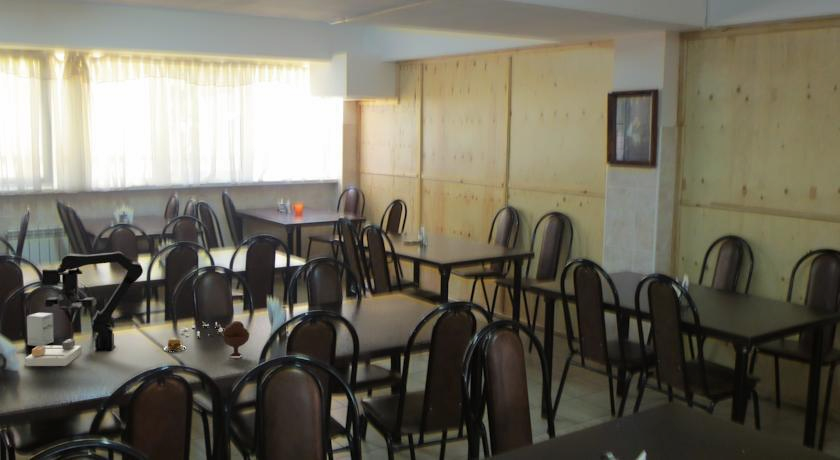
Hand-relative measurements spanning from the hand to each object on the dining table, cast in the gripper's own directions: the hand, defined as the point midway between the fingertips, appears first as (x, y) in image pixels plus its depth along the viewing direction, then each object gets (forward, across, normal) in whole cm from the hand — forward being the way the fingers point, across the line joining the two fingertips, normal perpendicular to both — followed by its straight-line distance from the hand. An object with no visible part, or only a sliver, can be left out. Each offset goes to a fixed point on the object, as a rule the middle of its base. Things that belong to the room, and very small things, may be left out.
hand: (71, 322), depth 320 cm
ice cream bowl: (+12, +67, -7) cm, 68 cm away
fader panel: (+12, -3, -11) cm, 17 cm away
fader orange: (+9, -7, -16) cm, 19 cm away
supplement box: (+12, -17, +12) cm, 24 cm away
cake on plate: (+13, +40, +4) cm, 42 cm away
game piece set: (+13, +46, +32) cm, 57 cm away
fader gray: (+9, +1, -6) cm, 11 cm away
